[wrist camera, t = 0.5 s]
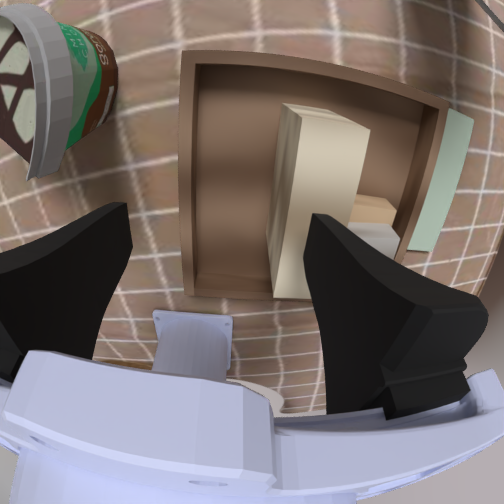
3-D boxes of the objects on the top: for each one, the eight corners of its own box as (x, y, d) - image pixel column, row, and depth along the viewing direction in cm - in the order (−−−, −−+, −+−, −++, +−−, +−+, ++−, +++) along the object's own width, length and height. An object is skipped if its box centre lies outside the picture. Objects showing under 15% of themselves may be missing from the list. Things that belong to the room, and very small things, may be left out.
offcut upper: (369, 287, 22) (376, 304, 21) (326, 288, 22) (331, 306, 21) (388, 223, 19) (400, 238, 17) (340, 221, 19) (349, 237, 17)
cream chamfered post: (305, 235, 22) (325, 299, 16) (265, 232, 22) (273, 297, 16) (327, 109, 16) (370, 129, 11) (282, 102, 16) (302, 117, 10)
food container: (171, 64, 15) (101, 58, 7) (119, 133, 18) (34, 188, 9) (61, -5, 10) (-30, -18, 2) (21, 60, 13) (-72, 80, 4)
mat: (429, 248, 24) (431, 251, 23) (389, 244, 23) (392, 248, 23) (470, 118, 16) (474, 119, 16) (429, 100, 16) (433, 101, 16)
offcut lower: (359, 276, 24) (366, 291, 23) (317, 274, 24) (322, 290, 22) (385, 198, 20) (396, 210, 18) (338, 191, 20) (346, 203, 18)
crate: (373, 282, 26) (383, 302, 23) (189, 272, 25) (184, 295, 22) (428, 96, 16) (449, 102, 14) (191, 54, 15) (182, 50, 12)
